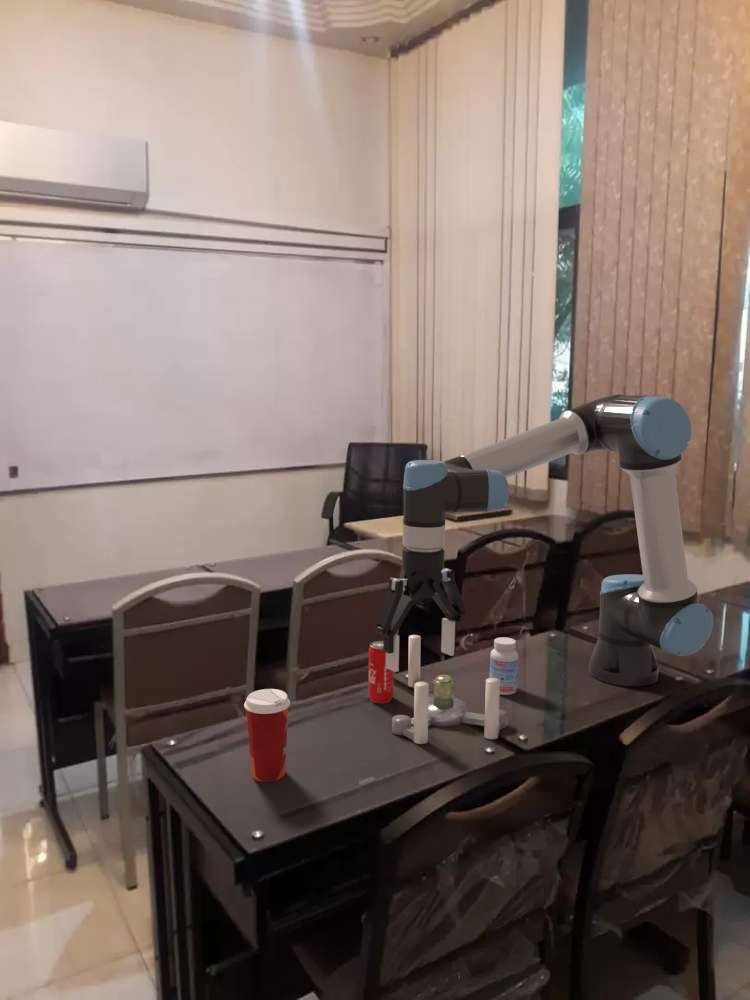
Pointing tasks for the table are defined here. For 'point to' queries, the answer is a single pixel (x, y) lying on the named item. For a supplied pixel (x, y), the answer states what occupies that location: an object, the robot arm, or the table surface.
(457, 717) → the levelling base
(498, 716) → the knob
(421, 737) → the knob
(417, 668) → the white lever handle
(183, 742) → the table surface
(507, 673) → the pill bottle
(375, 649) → the beverage can
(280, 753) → the paper cup
